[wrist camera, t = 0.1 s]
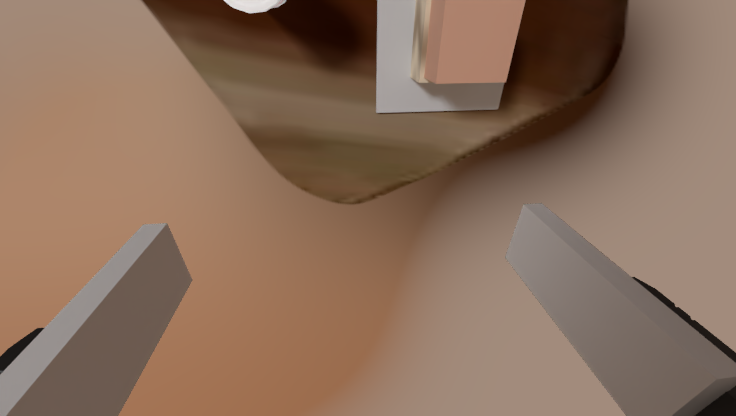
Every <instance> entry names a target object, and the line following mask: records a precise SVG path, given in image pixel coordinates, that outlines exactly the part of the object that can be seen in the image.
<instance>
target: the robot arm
mask: <svg viewBox="0 0 736 416" xmlns="http://www.w3.org/2000/svg"><path fill="white" fill-rule="evenodd" d="M505 258H506V259H507V261H508V262H509V263H510V265H511V266H512V267H513V268H514V270H515V271H516V272H517V274H518V275H519V276H520V278H521V279H522V280H523V282H524V283H525V284H526V286H527V287H528V288H529V290H530V291H531V292H532V293H533V295H534V296H535V297H536V299H537V300H538V301H539V303H540V304H541V305H542V306H543V308H544V309H545V310H546V312H547V313H548V314H549V316H550V317H551V318H552V320H553V321H554V322H555V323H556V325H557V326H558V327H559V329H560V330H561V331H562V333H563V334H564V335H565V336H566V338H567V339H568V340H569V342H570V343H571V344H572V346H573V347H574V348H575V349H576V351H577V352H578V353H579V355H580V356H581V357H582V359H583V360H584V361H585V363H586V364H587V365H588V367H589V368H590V369H591V370H592V372H593V373H594V374H595V376H596V377H597V378H598V380H599V381H600V382H601V383H602V385H603V386H604V387H605V389H606V390H607V391H608V393H609V394H610V395H611V397H613V399H614V400H615V402H616V403H617V404H618V406H619V407H620V408H621V410H622V411H623V412H624V413H625V415H626V416H736V353H735V352H734V351H733V350H732V349H730V348H729V347H728V346H727V345H725V344H724V343H723V342H722V341H720V340H719V339H718V338H717V337H715V336H714V335H713V334H711V333H710V332H709V331H708V330H707V329H705V328H704V327H703V326H701V325H700V324H699V323H698V322H696V321H695V320H691V318H690V316H689V315H688V314H686V313H685V312H684V311H683V310H681V309H680V308H679V307H675V304H674V303H673V302H671V301H670V300H669V299H668V298H666V297H665V296H664V295H663V294H661V293H660V292H659V291H658V290H656V289H655V288H653V287H651V286H649V285H648V284H646V283H644V282H642V281H640V280H639V279H637V278H635V277H631V276H629V275H628V274H627V273H626V272H625V271H623V270H622V269H621V268H620V267H619V266H617V265H616V264H615V263H614V262H612V261H611V260H610V259H609V258H608V257H606V256H605V255H604V254H603V253H602V252H600V251H599V250H598V249H597V248H595V247H594V246H593V245H592V244H591V243H589V242H588V241H587V240H586V239H585V238H583V237H582V236H581V235H579V234H578V233H577V232H576V231H575V230H573V229H572V228H571V227H570V226H569V225H567V224H566V223H565V222H564V221H563V220H561V219H560V218H559V217H558V216H556V215H555V214H554V213H553V212H552V211H550V210H549V209H548V208H547V207H545V206H544V205H543V204H542V203H539V204H524V205H523V207H522V210H521V213H520V216H519V219H518V222H517V225H516V227H515V230H514V233H513V236H512V239H511V242H510V245H509V247H508V250H507V253H506V256H505ZM191 282H192V278H191V276H190V274H189V272H188V269H187V267H186V265H185V262H184V260H183V258H182V256H181V253H180V251H179V249H178V247H177V244H176V242H175V240H174V238H173V235H172V233H171V231H170V229H169V227H168V224H167V223H163V224H146V225H143V226H142V227H141V228H140V229H139V230H138V231H137V232H136V233H135V234H134V235H133V236H132V237H131V238H130V239H129V240H128V241H127V242H126V243H125V244H124V246H122V248H121V249H120V250H119V251H118V252H117V253H116V254H115V255H114V256H113V257H112V258H111V259H110V260H109V261H108V262H107V263H106V264H105V265H104V266H103V268H102V269H101V270H100V271H99V272H98V273H97V274H96V275H95V276H94V277H93V278H92V279H91V280H90V281H89V282H88V283H87V284H86V285H85V286H84V287H83V288H82V290H81V291H80V292H79V293H78V294H77V295H76V296H75V297H74V298H73V299H72V300H71V301H70V302H69V303H68V304H67V305H66V306H65V307H64V308H63V309H62V310H61V311H60V313H59V314H58V315H57V316H56V317H55V318H54V319H53V320H52V321H51V322H50V323H49V324H48V325H47V326H46V327H45V328H37V329H36V330H34V331H33V332H31V333H30V334H28V335H27V336H26V337H24V338H23V339H21V340H20V341H18V342H17V343H16V344H14V345H13V346H12V347H10V348H9V349H8V350H7V351H6V352H5V353H4V354H2V356H0V416H118V415H119V413H120V411H121V410H122V408H123V406H124V404H125V402H126V401H127V399H128V397H129V395H130V393H131V391H132V389H133V388H134V386H135V384H136V382H137V380H138V379H139V377H140V375H141V373H142V371H143V369H144V368H145V366H146V364H147V362H148V360H149V359H150V357H151V355H152V353H153V351H154V349H155V347H156V346H157V344H158V342H159V340H160V338H161V337H162V335H163V333H164V331H165V329H166V327H167V326H168V324H169V322H170V320H171V318H172V317H173V315H174V313H175V311H176V309H177V307H178V306H179V304H180V302H181V300H182V298H183V296H184V295H185V292H186V291H187V289H188V287H189V285H190V283H191Z"/></svg>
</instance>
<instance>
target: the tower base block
mask: <svg viewBox="0 0 736 416" xmlns="http://www.w3.org/2000/svg"><path fill="white" fill-rule="evenodd" d="M430 10H431V0H416V4H415V18H414V32H413V46H412V60H411V74H410V78H412V79H413V80H415V81H417V82H418V83H433V82H431V81H429V80H428V79H426V78H424V74H425V63H426V53H427V42H428V32H429V21H430Z"/></svg>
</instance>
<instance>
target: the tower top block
mask: <svg viewBox="0 0 736 416" xmlns="http://www.w3.org/2000/svg"><path fill="white" fill-rule="evenodd" d="M524 4H525V0H431V10H430V21H429V32H428V42H427V53H426V63H425V74H424V78H426V79H428V80H429V81H431V82H433V83H435V84H450V83H500V82H506V80H507V76H508V72H509V68H510V63H511V59H512V55H513V51H514V47H515V42H516V38H517V34H518V30H519V25H520V21H521V17H522V13H523V9H524Z"/></svg>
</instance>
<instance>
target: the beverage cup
mask: <svg viewBox="0 0 736 416" xmlns="http://www.w3.org/2000/svg"><path fill="white" fill-rule="evenodd" d="M224 1H225V2H226V3H228V4H229V5H230V6H231V7H232V8H235V9H238V10H241V11H244V12H247V13H257V12H266V11H268V10H269V9H271V8H276V7H279V6H280V5H282V4H283V3H285V1H286V0H224Z"/></svg>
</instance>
